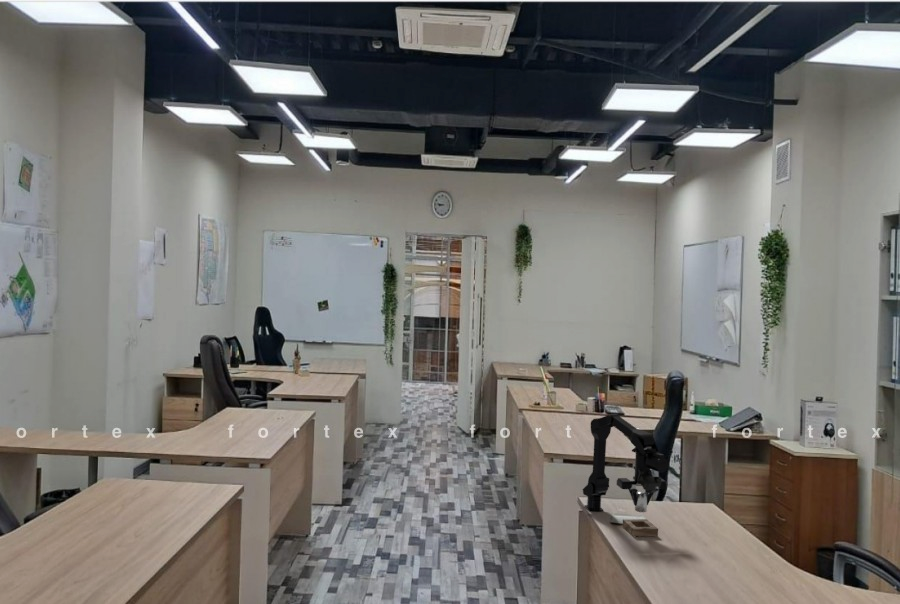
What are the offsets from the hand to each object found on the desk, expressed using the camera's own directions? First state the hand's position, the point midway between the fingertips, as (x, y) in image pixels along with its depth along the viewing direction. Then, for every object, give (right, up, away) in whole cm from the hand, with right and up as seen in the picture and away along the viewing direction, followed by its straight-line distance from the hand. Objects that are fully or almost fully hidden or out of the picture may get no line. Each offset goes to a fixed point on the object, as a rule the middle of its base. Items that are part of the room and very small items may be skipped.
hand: (640, 505), depth 247 cm
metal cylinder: (0, -2, 0) cm, 2 cm away
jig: (0, -10, 0) cm, 10 cm away
